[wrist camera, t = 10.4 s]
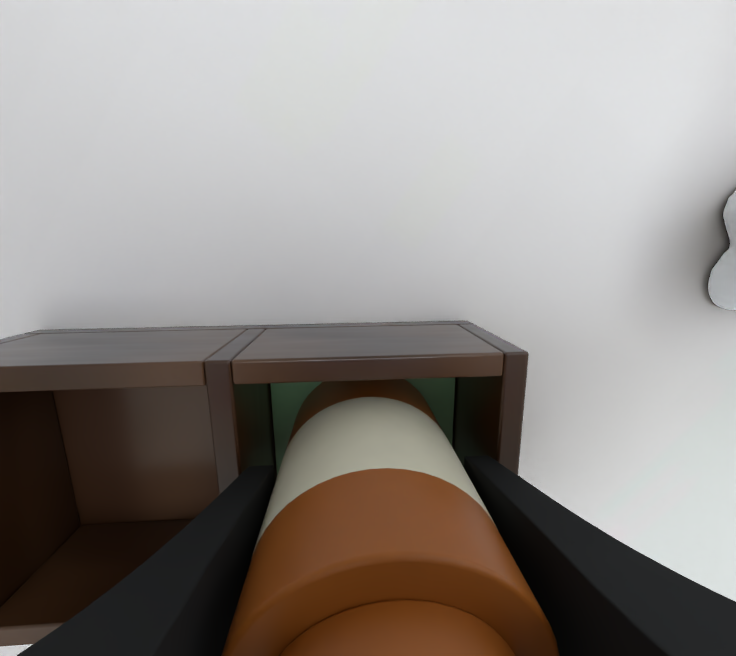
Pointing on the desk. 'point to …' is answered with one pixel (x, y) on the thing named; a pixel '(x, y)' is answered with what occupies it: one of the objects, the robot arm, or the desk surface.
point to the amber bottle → (380, 542)
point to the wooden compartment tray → (194, 433)
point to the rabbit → (726, 264)
